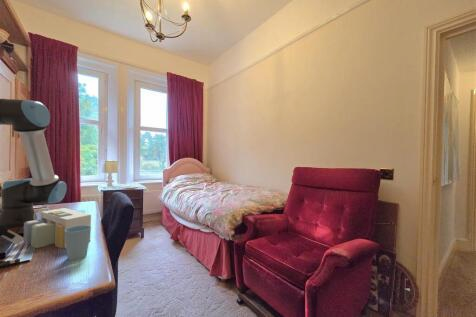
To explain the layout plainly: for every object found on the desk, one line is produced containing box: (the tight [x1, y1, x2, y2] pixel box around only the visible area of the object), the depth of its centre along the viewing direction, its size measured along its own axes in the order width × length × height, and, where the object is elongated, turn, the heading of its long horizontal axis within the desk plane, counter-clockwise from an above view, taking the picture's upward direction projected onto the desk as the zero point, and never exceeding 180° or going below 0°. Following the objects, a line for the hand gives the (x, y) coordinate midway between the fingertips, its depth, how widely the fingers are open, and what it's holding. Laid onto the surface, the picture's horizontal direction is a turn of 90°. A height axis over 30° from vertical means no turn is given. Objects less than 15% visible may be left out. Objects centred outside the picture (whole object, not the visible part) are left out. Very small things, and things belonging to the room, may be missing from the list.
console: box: [40, 207, 92, 249], centre depth 95 cm, size 9×22×12 cm, turn 61°
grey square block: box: [22, 219, 47, 245], centre depth 93 cm, size 8×4×8 cm, turn 151°
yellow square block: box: [54, 224, 65, 249], centre depth 90 cm, size 8×4×8 cm, turn 151°
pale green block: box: [30, 222, 55, 249], centre depth 89 cm, size 8×4×8 cm, turn 151°
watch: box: [33, 207, 52, 220], centre depth 105 cm, size 6×8×11 cm
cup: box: [65, 225, 92, 261], centre depth 79 cm, size 8×8×10 cm
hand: (20, 241), depth 82 cm, fingers closed
